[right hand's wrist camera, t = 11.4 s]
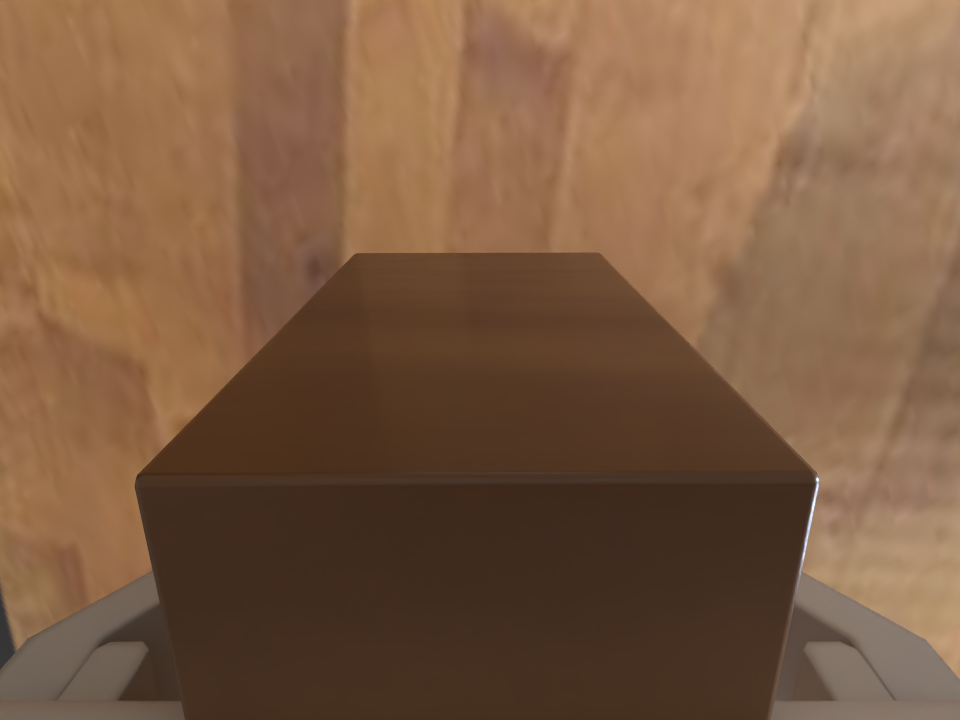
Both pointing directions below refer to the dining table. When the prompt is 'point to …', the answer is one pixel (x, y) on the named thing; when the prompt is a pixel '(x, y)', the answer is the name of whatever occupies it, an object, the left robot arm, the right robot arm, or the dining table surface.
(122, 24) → the dining table surface
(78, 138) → the dining table surface
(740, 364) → the dining table surface
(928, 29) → the dining table surface
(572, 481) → the bar
